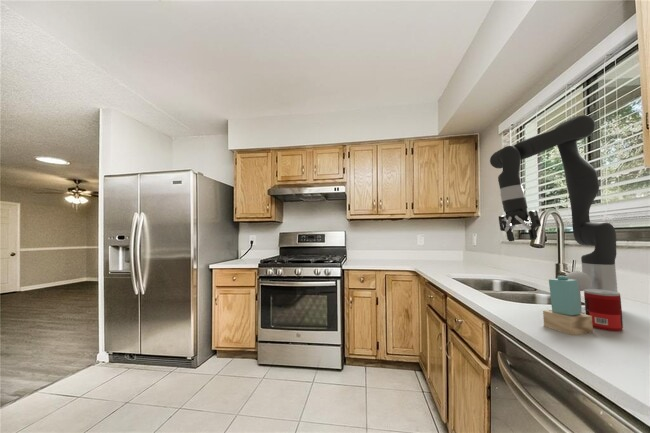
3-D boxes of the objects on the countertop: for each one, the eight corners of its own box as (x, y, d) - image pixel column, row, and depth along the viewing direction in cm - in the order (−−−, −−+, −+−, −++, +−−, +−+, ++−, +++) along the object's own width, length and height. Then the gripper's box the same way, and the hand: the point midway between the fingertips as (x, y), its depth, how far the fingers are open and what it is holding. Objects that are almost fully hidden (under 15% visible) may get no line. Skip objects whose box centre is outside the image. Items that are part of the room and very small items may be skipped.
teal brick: (562, 310, 86) (558, 275, 87) (581, 313, 81) (577, 276, 83) (552, 311, 84) (548, 276, 85) (571, 315, 80) (567, 277, 81)
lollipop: (575, 309, 103) (572, 269, 104) (599, 314, 97) (595, 271, 98) (563, 310, 101) (560, 270, 102) (586, 316, 94) (583, 273, 96)
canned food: (631, 332, 79) (627, 294, 80) (598, 330, 81) (596, 293, 81) (609, 323, 87) (606, 289, 87) (580, 322, 88) (577, 288, 89)
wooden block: (564, 324, 87) (563, 308, 87) (593, 333, 79) (591, 316, 80) (543, 326, 85) (542, 310, 86) (571, 335, 78) (570, 318, 78)
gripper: (539, 193, 98) (549, 238, 96) (504, 201, 111) (512, 240, 109) (523, 195, 96) (533, 240, 94) (489, 202, 109) (497, 242, 107)
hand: (522, 240), depth 102 cm, fingers open, 8 cm apart
